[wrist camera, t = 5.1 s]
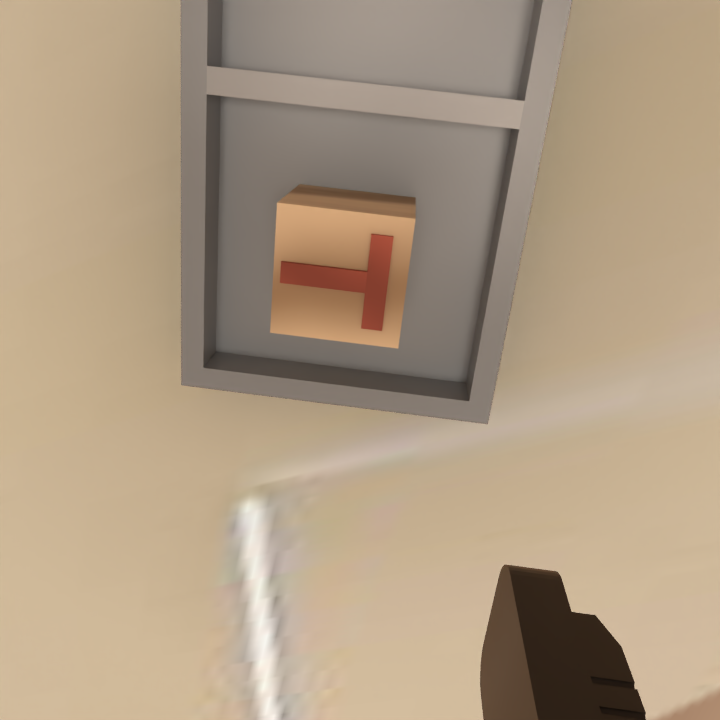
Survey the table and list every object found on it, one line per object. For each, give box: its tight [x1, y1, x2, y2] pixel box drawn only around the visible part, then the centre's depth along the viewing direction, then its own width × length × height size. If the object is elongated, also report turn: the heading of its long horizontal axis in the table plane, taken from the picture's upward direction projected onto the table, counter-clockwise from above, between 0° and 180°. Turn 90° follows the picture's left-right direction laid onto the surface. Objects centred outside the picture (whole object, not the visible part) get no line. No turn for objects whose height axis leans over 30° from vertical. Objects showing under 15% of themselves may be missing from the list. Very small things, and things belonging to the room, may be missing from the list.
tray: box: [181, 0, 572, 424], centre depth 26 cm, size 26×14×3 cm, turn 174°
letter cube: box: [270, 184, 416, 348], centre depth 27 cm, size 5×5×5 cm
